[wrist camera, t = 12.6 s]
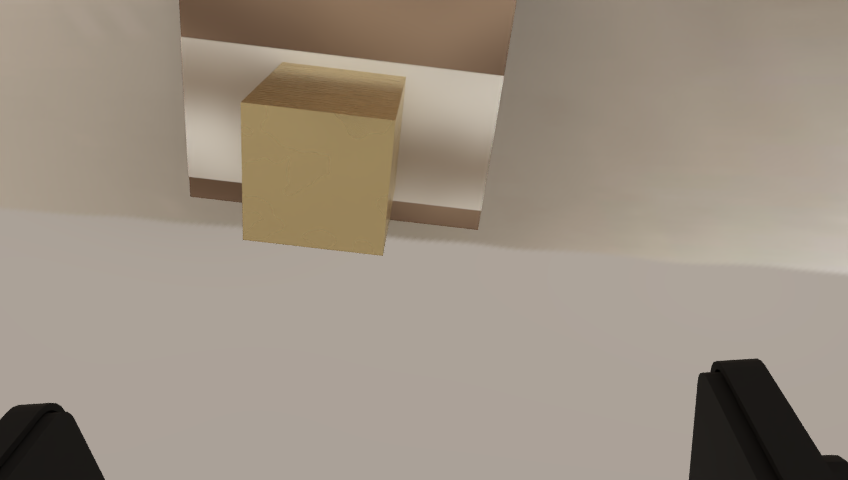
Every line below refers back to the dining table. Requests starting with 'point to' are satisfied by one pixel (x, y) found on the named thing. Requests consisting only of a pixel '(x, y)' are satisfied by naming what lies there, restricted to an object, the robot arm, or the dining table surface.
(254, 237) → the tan wooden cube
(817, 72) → the dining table surface
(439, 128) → the balance beam
